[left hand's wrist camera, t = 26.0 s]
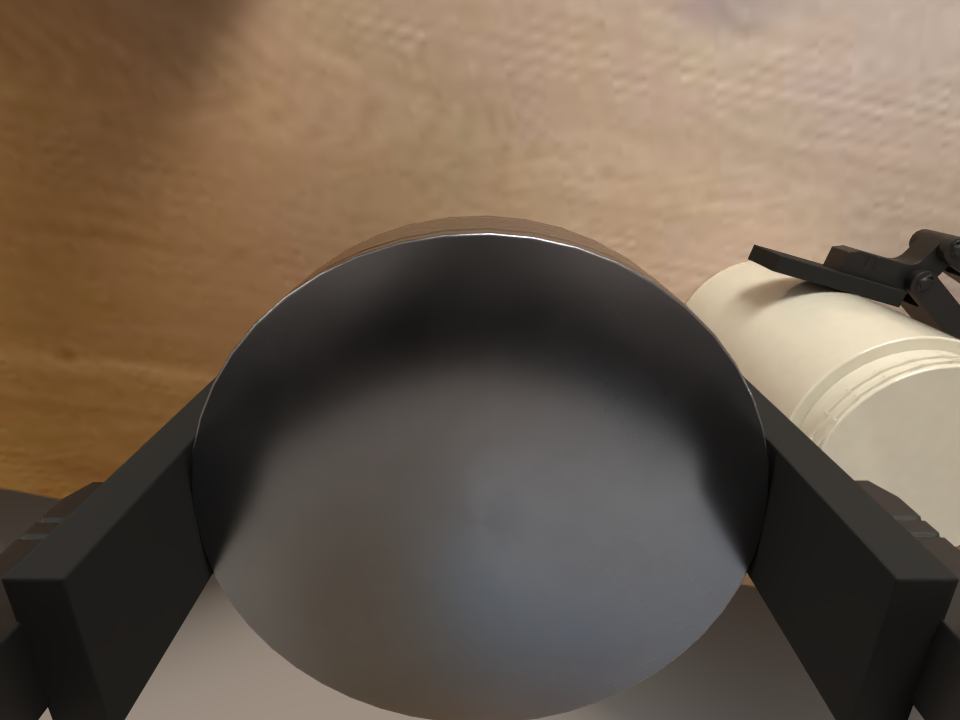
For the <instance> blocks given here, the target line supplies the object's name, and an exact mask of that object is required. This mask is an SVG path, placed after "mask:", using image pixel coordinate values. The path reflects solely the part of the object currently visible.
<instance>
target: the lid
mask: <svg viewBox="0 0 960 720" xmlns="http://www.w3.org/2000/svg"><path fill="white" fill-rule="evenodd" d="M191 489H192V499H193V506H194V512H195V517H196V522H197V526H198V531H199V535H200V540H201V544H202V547H203V549H204V552H205V554H206V557H207V559H208V561H209V564H210V566H211V569H212V571H213V573H214V575H215V577H216V579H217V580H218V582H219V584H220V585H221V587H222V589H223V590H224V592H225V594H226V595H227V597H228V599H229V601H230V602H231V603H232V605H233V606H234V607H235V608H236V610H237V611H238V612H239V614H240V615H241V616H242V617H243V619H244V620H245V621H246V623H247V624H248V625H249V626H250V627H251V628H252V629H253V630H254V631H255V632H256V633H257V634H258V635H259V636H260V637H261V638H262V639H263V640H264V641H265V642H266V643H267V644H268V645H269V646H270V647H271V648H272V649H273V650H275V651H276V652H277V653H278V654H280V655H281V656H282V657H283V658H285V659H286V660H287V661H289V662H290V663H291V664H292V665H294V666H295V667H296V668H298V669H299V670H301V671H303V672H304V673H306V674H308V675H309V676H311V677H312V678H314V679H315V680H317V681H319V682H320V683H322V684H324V685H326V686H328V687H330V688H332V689H334V690H336V691H338V692H340V693H342V694H344V695H347V696H349V697H351V698H353V699H356V700H359V701H362V702H364V703H367V704H370V705H373V706H375V707H378V708H381V709H385V710H389V711H392V712H396V713H400V714H404V715H408V716H412V717H418V718H425V719H431V720H530V719H538V718H542V717H547V716H551V715H556V714H561V713H565V712H569V711H572V710H575V709H579V708H581V707H585V706H588V705H591V704H594V703H597V702H600V701H602V700H604V699H607V698H609V697H611V696H613V695H616V694H618V693H620V692H623V691H625V690H627V689H629V688H631V687H632V686H634V685H636V684H638V683H639V682H641V681H643V680H645V679H647V678H648V677H650V676H652V675H654V674H655V673H657V672H658V671H659V670H661V669H662V668H663V667H665V666H666V665H668V664H669V663H670V662H672V661H673V660H675V659H676V658H677V657H679V656H680V655H681V654H682V653H683V652H685V651H686V650H687V649H688V648H689V647H690V646H691V645H692V644H693V643H694V642H696V641H697V640H698V639H699V638H700V637H701V636H702V635H703V634H704V633H705V632H706V631H707V630H708V628H709V627H710V626H711V625H712V624H713V623H714V621H715V620H716V619H717V618H718V617H719V616H720V614H721V613H722V612H723V611H724V609H725V608H726V606H727V605H728V603H729V602H730V600H731V599H732V597H733V596H734V594H735V593H736V591H737V590H738V588H739V587H740V585H741V583H742V581H743V579H744V577H745V575H746V573H747V571H748V569H749V567H750V565H751V563H752V561H753V558H754V556H755V553H756V550H757V547H758V543H759V540H760V537H761V533H762V529H763V524H764V519H765V514H766V509H767V503H768V497H769V460H768V454H767V447H766V441H765V434H764V428H763V425H762V422H761V419H760V416H759V413H758V410H757V407H756V404H755V401H754V398H753V395H752V393H751V391H750V389H749V387H748V385H747V383H746V381H745V380H744V378H743V376H742V374H741V372H740V370H739V368H738V366H737V364H736V363H735V361H734V360H733V358H732V357H731V356H730V354H729V353H728V352H727V350H726V349H725V347H724V346H723V345H722V343H721V342H720V341H719V339H718V338H717V336H716V335H715V334H714V333H713V332H712V331H711V330H710V329H709V328H708V327H707V326H706V325H705V324H704V323H703V322H702V321H701V320H700V319H699V318H698V317H697V316H696V315H695V314H694V313H693V312H692V311H691V310H690V309H689V308H688V307H687V306H686V305H685V304H684V303H683V302H682V301H680V300H679V299H678V298H677V297H676V296H675V295H673V294H672V293H671V292H670V291H669V290H668V289H666V288H665V287H664V286H663V285H662V284H661V283H659V282H658V281H657V280H656V279H655V278H653V277H652V276H651V275H649V274H648V273H647V272H645V271H644V270H643V269H641V268H640V267H639V266H637V265H636V264H635V263H633V262H632V261H631V260H629V259H628V258H626V257H625V256H623V255H621V254H619V253H617V252H616V251H614V250H612V249H610V248H608V247H606V246H605V245H603V244H601V243H599V242H597V241H595V240H593V239H590V238H587V237H585V236H582V235H580V234H577V233H574V232H572V231H569V230H566V229H564V228H561V227H557V226H552V225H548V224H544V223H539V222H535V221H531V220H526V219H518V218H507V217H496V216H467V217H448V218H442V219H437V220H431V221H425V222H420V223H414V224H410V225H407V226H404V227H401V228H398V229H395V230H392V231H389V232H385V233H382V234H379V235H377V236H374V237H372V238H370V239H368V240H366V241H364V242H362V243H360V244H358V245H356V246H354V247H352V248H349V249H347V250H345V251H344V252H342V253H341V254H339V255H338V256H336V257H335V258H333V259H332V260H330V261H329V262H327V263H326V264H324V265H323V266H321V267H320V268H318V269H317V270H315V271H314V272H313V273H312V274H311V275H309V276H308V277H307V278H306V279H305V280H304V281H302V282H301V283H300V284H299V285H298V286H297V287H295V288H294V289H293V290H292V291H291V292H290V293H288V294H287V295H286V296H285V297H284V298H283V299H282V300H280V301H279V302H278V303H277V304H276V305H275V306H274V307H273V308H271V309H270V310H269V311H268V312H267V313H266V314H265V315H264V316H263V317H261V318H260V319H259V320H258V321H257V322H256V323H255V324H254V325H253V327H252V328H251V329H250V330H249V331H248V333H247V334H246V335H245V336H244V337H243V339H242V340H241V341H240V342H239V344H238V345H237V346H236V347H235V348H234V350H233V351H232V352H231V354H230V355H229V357H228V359H227V360H226V362H225V364H224V366H223V367H222V369H221V371H220V372H219V374H218V376H217V377H216V379H215V381H214V382H213V384H212V387H211V390H210V392H209V395H208V397H207V400H206V402H205V405H204V407H203V410H202V412H201V415H200V419H199V423H198V428H197V432H196V437H195V441H194V446H193V454H192V472H191Z"/></svg>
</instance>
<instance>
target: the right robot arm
mask: <svg viewBox="0 0 960 720" xmlns="http://www.w3.org/2000/svg"><path fill="white" fill-rule="evenodd" d="M748 259H749V260H751V261H753V262H755V263H757V264H759V265H761V266H763V267H765V268H767V269H769V270H771V271H774V272H777V273H781V274H784V275H788V276H791V277H795V278H798V279H802V280H805V281H809V282H812V283H816V284H819V285H823V286H826V287H830V288H833V289H837V290H840V291H844V292H847V293H851V294H854V295H858V296H861V297H865V298H868V299H872V300H875V301H879V302H882V303H886V304H889V305H893V306H896V307H899V306H900V305H901V306H902V307H903V308H904V309H905V311H906V312H907V313H908V314H909V315H910V317H911V318H913V319H915V320H917V321H920V322H922V323H924V324H926V325H929V326H931V327H933V328H935V329H938V330H940V331H942V332H944V333H947V334H949V335H951V336H953V337H956V338H958V339H960V305H959V304H958V302H957V301H956V300H955V299H954V297H953V296H952V295H951V294H950V292H949V291H948V290H947V289H946V287H945V286H944V285H943V284H942V282H941V281H940V280H939V279H938V276H939V275H940V274H941V273H942V272H944V273H945V274H947V275H948V276H950V277H951V278H953V279H954V280H956V281H957V282H959V283H960V237H958V236H954V235H949V234H945V233H941V232H936V231H932V230H927V229H923V230H919V231H917V232H916V233H915V234H914V235H912V237H911V239H910V242H909V248H908V249H907V250H906V251H905V252H904V253H903V254H902V255H900V256H898V257H896V258H885V257H882V256H878V255H875V254H871V253H868V252H864V251H861V250H858V249H854V248H851V247H847V246H844V245H842V246H833V247H832V248H831V250H830V252H829V254H828V256H827V258H826V260H825V262H824V264H820V263H816V262H813V261H809V260H806V259H802V258H799V257H795V256H792V255H789V254H785V253H782V252H778V251H775V250H771V249H768V248H764V247H761V246H757V245H754V246H753V249H752V251H751V253H750V255H749V258H748Z"/></svg>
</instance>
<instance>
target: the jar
mask: <svg viewBox="0 0 960 720" xmlns="http://www.w3.org/2000/svg"><path fill="white" fill-rule="evenodd" d="M686 306H687V307H688V308H689V309H690V310H691V311H692V312H693V313H694V314H695V315H696V316H697V317H698V318H699V319H700V320H701V321H702V322H703V323H704V324H705V325H706V326H707V327H708V328H709V329H710V330H711V331H712V332H713V333H714V334H715V335H716V336H717V338H718V339H719V341H720V342H721V343H722V345H723V346H724V347H725V349H726V350H727V352H728V353H729V354H730V356H731V357H732V358H733V360H734V361H735V363H736V364H737V366H738V368H739V370H740V372H741V374H742V375H743V376H744V377H745V378H746V379H747V380H748V381H749V382H750V383H751V384H752V385H753V386H754V387H755V388H756V389H757V390H759V391H760V392H761V393H762V394H763V395H764V396H765V397H766V398H767V399H768V400H769V401H770V402H771V403H772V404H773V405H774V406H776V407H777V408H778V409H779V410H780V411H781V412H782V413H783V414H784V415H785V416H786V417H787V418H788V419H789V420H790V421H792V422H793V423H794V424H795V425H796V426H797V427H798V428H799V429H800V430H801V431H802V432H803V433H804V434H805V435H806V436H808V437H809V438H810V439H811V440H812V441H813V442H814V443H815V444H816V445H817V446H818V447H819V448H820V449H821V450H822V451H823V452H825V453H826V454H827V455H828V456H829V457H830V458H831V459H832V460H833V461H834V462H835V463H836V464H837V465H838V466H839V467H841V468H842V469H843V470H844V471H845V472H846V473H847V474H848V475H849V476H850V477H851V478H852V479H853V480H868V481H870V482H872V483H874V484H875V485H877V486H879V487H881V488H883V489H885V490H886V491H888V492H890V493H892V494H894V495H896V496H897V497H899V498H900V499H901V500H902V501H904V502H905V503H906V504H907V505H908V506H909V507H910V508H912V509H913V510H914V511H915V512H916V513H917V514H918V515H919V516H921V520H922V521H926V522H927V523H929V524H930V525H931V526H932V527H933V528H934V529H935V530H937V531H938V532H939V533H940V537H941V538H946V539H947V540H948V541H949V542H950V543H951V544H952V545H954V546H955V547H957V546H960V339H958V338H956V337H953V336H951V335H949V334H947V333H944V332H942V331H940V330H938V329H935V328H933V327H931V326H929V325H926V324H924V323H922V322H920V321H917V320H915V319H913V318H911V317H908V316H906V315H904V314H901V313H899V312H897V311H895V310H892V309H890V308H888V307H886V306H883V305H881V304H879V303H877V302H874V301H872V300H870V299H868V298H865V297H861V296H858V295H854V294H851V293H847V292H844V291H840V290H837V289H833V288H830V287H826V286H823V285H819V284H816V283H812V282H809V281H805V280H802V279H798V278H795V277H791V276H788V275H784V274H781V273H777V272H774V271H771V270H769V269H767V268H765V267H763V266H761V265H759V264H757V263H755V262H753V261H748V262H743V263H739V264H737V265H734V266H731V267H729V268H727V269H725V270H722V271H720V272H719V273H717V274H716V275H714V276H713V277H711V278H710V279H708V280H707V281H706V282H705V283H704V284H702V285H701V286H700V287H699V288H698V289H697V290H696V291H695V293H694V294H693V295H692V296H691V298H690V299H689V300H688V302H687V304H686Z"/></svg>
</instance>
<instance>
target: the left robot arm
mask: <svg viewBox="0 0 960 720" xmlns="http://www.w3.org/2000/svg"><path fill="white" fill-rule="evenodd" d="M742 376H743V375H742ZM743 378H744V380H745V381H746V383H747V385H748V387H749V389H750V391H751V393H752V395H753V398H754V401H755V404H756V407H757V410H758V413H759V416H760V419H761V422H762V425H763V428H764V434H765V441H766V447H767V454H768V460H769V497H768V503H767V509H766V514H765V519H764V524H763V529H762V533H761V537H760V540H759V543H758V547H757V550H756V553H755V556H754V558H753V561H752V563H751V565H750V567H749V569H748V571H747V573H748V575H749V576H750V578H751V580H752V581H753V583H754V585H755V586H756V588H757V590H758V591H759V593H760V595H761V596H762V598H763V600H764V601H765V603H766V605H767V606H768V608H769V610H770V611H771V613H772V615H773V616H774V618H775V620H776V621H777V623H778V625H779V626H780V628H781V629H782V631H783V633H784V635H785V636H786V638H787V640H788V641H789V643H790V645H791V646H792V648H793V650H794V651H795V653H796V655H797V656H798V658H799V659H800V661H801V663H802V664H803V666H804V668H805V669H806V671H807V673H808V674H809V676H810V678H811V679H812V681H813V683H814V684H815V686H816V688H817V689H818V691H819V693H820V694H821V696H822V698H823V699H824V701H825V703H826V704H827V706H828V708H829V709H830V711H831V713H832V714H833V716H834V718H835V719H836V720H908V718H909V715H910V712H911V710H912V707H913V705H914V706H915V708H916V709H917V710H918V711H919V713H920V714H921V715H922V717H923V718H924V719H925V720H960V551H959V550H958V549H957V548H956V547H955V546H954V545H952V544H951V543H950V542H949V541H948V540H947V539H946V538H941V537H940V533H939V532H938V531H937V530H935V529H934V528H933V527H932V526H931V525H930V524H929V523H927V522H926V521H922V520H921V516H919V515H918V514H917V513H916V512H915V511H914V510H913V509H912V508H910V507H909V506H908V505H907V504H906V503H905V502H904V501H902V500H901V499H900V498H899V497H897V496H896V495H894V494H892V493H890V492H888V491H886V490H885V489H883V488H881V487H879V486H877V485H875V484H874V483H872V482H870V481H868V480H853V479H852V478H851V477H850V476H849V475H848V474H847V473H846V472H845V471H844V470H843V469H842V468H841V467H839V466H838V465H837V464H836V463H835V462H834V461H833V460H832V459H831V458H830V457H829V456H828V455H827V454H826V453H825V452H823V451H822V450H821V449H820V448H819V447H818V446H817V445H816V444H815V443H814V442H813V441H812V440H811V439H810V438H809V437H808V436H806V435H805V434H804V433H803V432H802V431H801V430H800V429H799V428H798V427H797V426H796V425H795V424H794V423H793V422H792V421H790V420H789V419H788V418H787V417H786V416H785V415H784V414H783V413H782V412H781V411H780V410H779V409H778V408H777V407H776V406H774V405H773V404H772V403H771V402H770V401H769V400H768V399H767V398H766V397H765V396H764V395H763V394H762V393H761V392H760V391H759V390H757V389H756V388H755V387H754V386H753V385H752V384H751V383H750V382H749V381H748V380H747V379H746V378H745V377H744V376H743ZM215 379H216V378H215ZM215 379H214V380H213V381H211V382H210V383H209V384H208V385H207V386H206V387H205V388H204V389H203V390H202V391H201V392H200V393H199V394H198V395H197V396H195V397H194V398H193V399H192V400H191V401H190V402H189V403H188V404H187V405H186V406H185V407H184V408H183V409H182V410H181V411H180V412H178V413H177V414H176V415H175V416H174V417H173V418H172V419H171V420H170V421H169V422H168V423H167V424H166V425H165V426H164V427H162V428H161V429H160V430H159V431H158V432H157V433H156V434H155V435H154V436H153V437H152V438H151V439H150V440H149V441H148V442H147V443H145V444H144V445H143V446H142V447H141V448H140V449H139V450H138V451H137V452H136V453H135V454H134V455H133V456H132V457H131V458H129V459H128V460H127V461H126V462H125V463H124V464H123V465H122V466H121V467H120V468H119V469H118V470H117V471H116V472H115V473H114V474H112V475H111V476H110V477H109V478H108V479H107V480H106V481H105V482H93V483H91V484H89V485H87V486H85V487H84V488H82V489H80V490H78V491H76V492H75V493H73V494H71V495H69V496H67V497H65V498H64V499H62V500H61V501H60V502H59V503H58V504H56V505H55V506H54V507H53V508H52V509H51V510H50V511H49V512H47V513H46V514H45V515H44V516H43V517H42V518H41V519H40V523H35V524H34V525H33V526H32V527H30V528H29V529H28V530H27V531H26V532H25V533H24V534H23V535H22V538H21V540H16V541H15V542H14V543H12V544H11V545H10V546H9V547H8V548H7V549H6V550H5V551H4V552H2V553H1V554H0V720H38V719H39V718H40V717H41V715H42V714H43V713H44V711H45V710H46V709H47V707H48V708H49V711H50V714H51V716H52V719H53V720H125V718H126V717H127V715H128V713H129V712H130V710H131V708H132V707H133V705H134V703H135V702H136V700H137V698H138V697H139V695H140V693H141V692H142V690H143V688H144V687H145V685H146V683H147V682H148V680H149V678H150V677H151V675H152V673H153V672H154V670H155V668H156V667H157V665H158V663H159V662H160V660H161V658H162V657H163V655H164V653H165V652H166V650H167V649H168V647H169V645H170V643H171V642H172V640H173V639H174V637H175V635H176V633H177V632H178V630H179V629H180V627H181V625H182V624H183V622H184V620H185V619H186V617H187V615H188V614H189V612H190V610H191V609H192V607H193V605H194V604H195V602H196V600H197V599H198V597H199V595H200V594H201V592H202V590H203V589H204V587H205V585H206V584H207V582H208V580H209V579H210V577H211V575H212V574H213V571H212V569H211V566H210V564H209V561H208V559H207V557H206V554H205V552H204V549H203V547H202V544H201V540H200V535H199V531H198V526H197V522H196V517H195V512H194V506H193V499H192V489H191V472H192V454H193V446H194V441H195V437H196V432H197V428H198V423H199V419H200V415H201V412H202V410H203V407H204V405H205V402H206V400H207V397H208V395H209V392H210V390H211V387H212V384H213V382H214V381H215Z"/></svg>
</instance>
